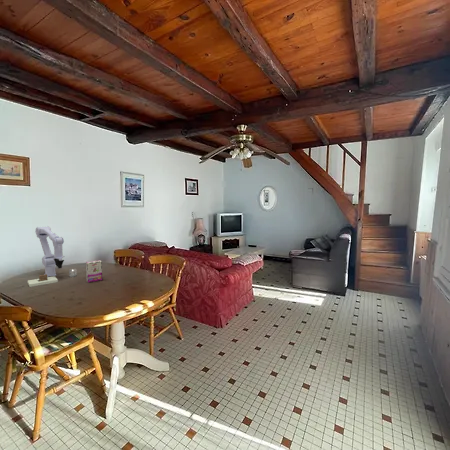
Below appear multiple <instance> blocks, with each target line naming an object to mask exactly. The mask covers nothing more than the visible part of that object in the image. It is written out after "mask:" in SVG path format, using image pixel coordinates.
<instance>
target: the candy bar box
mask: <svg viewBox="0 0 450 450" xmlns="http://www.w3.org/2000/svg"><path fill="white" fill-rule="evenodd" d="M85 264H86V265H85V267H86V268H85V269H86V270H85V272H86V282H87V283H93V282H99V281H103V262H102V260H100V259H99V260H93V261H86V262H85Z"/></svg>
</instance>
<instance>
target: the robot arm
mask: <svg viewBox="0 0 450 450" xmlns="http://www.w3.org/2000/svg"><path fill="white" fill-rule="evenodd" d="M34 233H35V236H36V237H37V239H39V241H40V245H41V247H42V251H43V254H44V255H43V256H42V258H41V262H42V263H41V264H42V266H44V271H45V273H43V275H45V274H47V277H53V276H55V277H56V276H57V273H56V267H57V269H62V267H63V263H64V261H65V260H64V259H63V258H65V256H64V255H63V244H64V242H65V241H64V237H62V236H59V235H57V234H56V233H55V232H52V228H51V227H50V226H37V227H36V228H35V232H34ZM48 238H49V239H50V241H52V245H53V249H54V250H53V251H54V254H53V253H52V251H51V247H50V244H49V242H48Z"/></svg>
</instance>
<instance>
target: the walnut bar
mask: <svg viewBox="0 0 450 450" xmlns="http://www.w3.org/2000/svg"><path fill="white" fill-rule="evenodd" d="M44 274H45V273H44ZM44 274H39V275H38V279H39V281H45V280H47V274H45V275H44Z"/></svg>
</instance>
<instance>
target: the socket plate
mask: <svg viewBox="0 0 450 450" xmlns="http://www.w3.org/2000/svg"><path fill="white" fill-rule="evenodd" d="M58 282H59V280H58V278H57V277H56V275H55V276H49V277H47V280H45V281H39V278H35V279H28V280H27V284H28V286H29V287H30V288H32V287H37V286H43V285H47V284H48V285H49V284H56V283H58Z"/></svg>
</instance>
